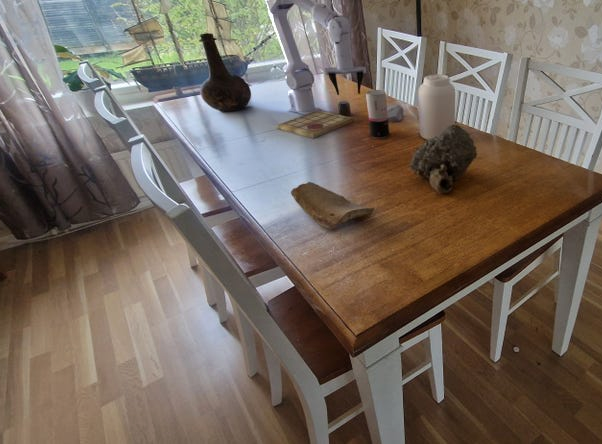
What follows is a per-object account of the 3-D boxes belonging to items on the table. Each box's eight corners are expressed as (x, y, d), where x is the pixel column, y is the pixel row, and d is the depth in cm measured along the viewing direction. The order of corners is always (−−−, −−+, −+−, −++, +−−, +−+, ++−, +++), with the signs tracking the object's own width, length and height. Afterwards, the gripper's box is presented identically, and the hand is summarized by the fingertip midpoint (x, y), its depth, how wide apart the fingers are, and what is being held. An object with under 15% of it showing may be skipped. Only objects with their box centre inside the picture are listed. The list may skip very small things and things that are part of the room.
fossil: (325, 200, 101) (289, 206, 93) (326, 177, 98) (289, 181, 91) (375, 229, 88) (338, 238, 81) (377, 203, 86) (339, 211, 79)
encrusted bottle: (447, 110, 102) (457, 119, 89) (481, 147, 108) (496, 161, 95) (401, 158, 106) (403, 173, 92) (436, 191, 111) (444, 210, 98)
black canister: (336, 115, 150) (334, 102, 147) (344, 112, 153) (343, 100, 150) (345, 117, 148) (343, 104, 145) (353, 114, 151) (351, 101, 149)
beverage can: (366, 136, 131) (361, 93, 123) (378, 131, 136) (373, 88, 128) (382, 140, 129) (377, 96, 120) (393, 134, 134) (389, 91, 125)
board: (278, 128, 137) (277, 124, 136) (318, 113, 151) (318, 109, 151) (313, 138, 130) (312, 133, 129) (352, 121, 144) (352, 117, 143)
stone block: (400, 126, 145) (405, 113, 152) (398, 115, 141) (403, 102, 148) (370, 126, 146) (376, 113, 153) (368, 115, 142) (374, 102, 149)
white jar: (428, 144, 127) (427, 83, 115) (414, 132, 136) (411, 74, 124) (460, 138, 131) (462, 78, 120) (444, 126, 141) (445, 70, 129)
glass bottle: (263, 106, 158) (243, 33, 143) (222, 118, 146) (196, 38, 130) (238, 99, 166) (217, 29, 150) (197, 110, 154) (170, 34, 138)
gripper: (322, 57, 129) (328, 97, 136) (364, 56, 132) (368, 95, 139) (322, 54, 134) (328, 92, 142) (363, 52, 137) (367, 90, 145)
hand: (348, 93), depth 141 cm, fingers open, 7 cm apart
